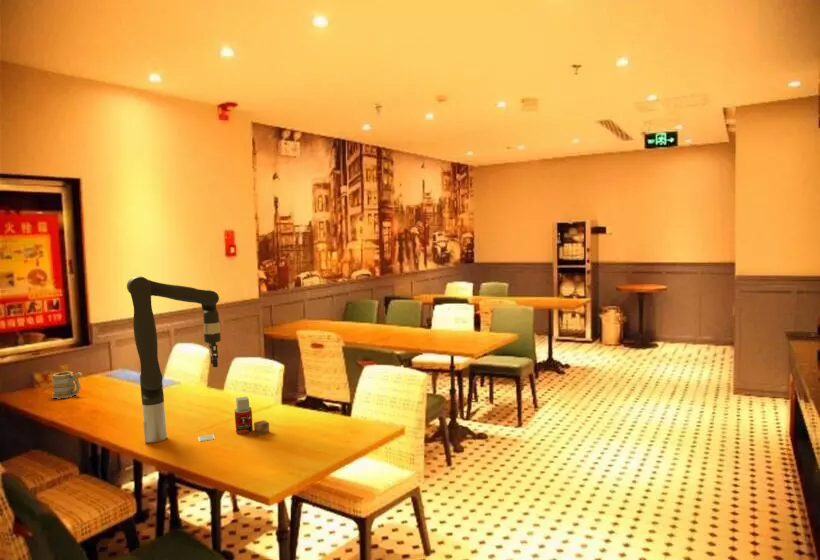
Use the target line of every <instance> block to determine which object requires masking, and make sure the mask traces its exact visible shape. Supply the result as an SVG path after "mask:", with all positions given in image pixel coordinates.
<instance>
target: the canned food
mask: <svg viewBox="0 0 820 560" xmlns="http://www.w3.org/2000/svg"><path fill="white" fill-rule="evenodd" d="M234 421H235V432H236V434H237V435H242V436H243V435H248V434H250V433H252V432H253V429H254V423H253V412H252V407H250V406H249V410H244V411H238V410H237V408H235V409H234Z"/></svg>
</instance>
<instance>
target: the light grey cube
mask: <svg viewBox="0 0 820 560" xmlns="http://www.w3.org/2000/svg"><path fill="white" fill-rule="evenodd" d="M235 401H236V402H235V403H236V409H237V410H238V411H244V410H249V407H250V400H249V397H248V396H243V397H242V396H241V397H240V396H239V397H236V398H235Z"/></svg>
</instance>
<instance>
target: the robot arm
mask: <svg viewBox="0 0 820 560" xmlns="http://www.w3.org/2000/svg"><path fill="white" fill-rule="evenodd" d="M126 290H127V291H128V292H129V294H130V297H131V300H132V305H133V321H132V323H133V324H132V326H133V336H134V342H135V346H136V350H137V354H138V357H139V363H140V376H139V383H140V385H139V386H140V394H141V404H142V405H141V407H142V416H143V423H142V424H143V433H144V443H145V444H146V443H157V442H162V441H164V440H166V439H167V438H168V435H167V434H168V433H167V421H166V411H165V410H166V409H165V397H164V396H165V395H164V388H163V387H164V386H163V378H164V377H163V374H162V371H161V368H160V364H159V358H158V356H159V355H158V354H159V353H158V346H159V345H158V333H157V325H156V322H155V321H156V320H155V316H154V312H153V308H152V296H153V297H160V298H166V299H170V300H173V301H179V302H186V303H194V304H200V305H201V309H202V313H203V315H202V317H203V339H204V343H206V344H208V352H209V356H210V364H211V365H212V367H213V368H218V366H219V364H218V363H219V362H218V359H219V346H218V344H217V343H219V342H221V341H222V337H221V336H222V334H221V324H220V315H219V311H218V309H217V304H218V303H219V301H220V300H219V299H220V296H219V293H217V292H216V291H214V290H210V289H207V290H206V289H200V288H196V287H192V286H186V285H178V284H169V283H163V282H157V281H153V280H150V279H147V278H146V277H143V276H139V275H136V276H133V277H131V278H130V279H129V280H128V281H127V284H126Z"/></svg>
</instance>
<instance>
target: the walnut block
mask: <svg viewBox="0 0 820 560" xmlns="http://www.w3.org/2000/svg"><path fill="white" fill-rule="evenodd" d="M253 429H254V434H256V435H258V436H264V435H266V434H267V435H268V434H270V423H269V422H268V421H267V420H260V421H256V422H255V421H254V422H253Z"/></svg>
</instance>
